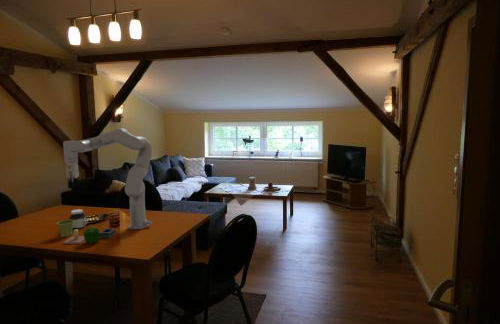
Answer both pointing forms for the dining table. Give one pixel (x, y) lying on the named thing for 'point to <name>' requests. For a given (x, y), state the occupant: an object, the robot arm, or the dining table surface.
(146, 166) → the robot arm
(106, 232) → the dark grey rectangular frame
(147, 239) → the dining table surface
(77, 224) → the spread jar
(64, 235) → the plant pot
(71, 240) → the keeper
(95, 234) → the bell pepper
